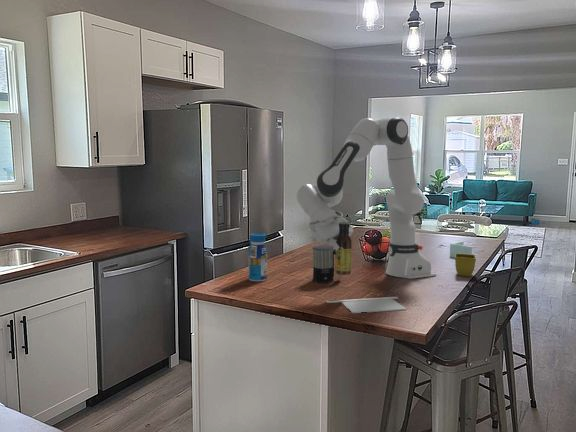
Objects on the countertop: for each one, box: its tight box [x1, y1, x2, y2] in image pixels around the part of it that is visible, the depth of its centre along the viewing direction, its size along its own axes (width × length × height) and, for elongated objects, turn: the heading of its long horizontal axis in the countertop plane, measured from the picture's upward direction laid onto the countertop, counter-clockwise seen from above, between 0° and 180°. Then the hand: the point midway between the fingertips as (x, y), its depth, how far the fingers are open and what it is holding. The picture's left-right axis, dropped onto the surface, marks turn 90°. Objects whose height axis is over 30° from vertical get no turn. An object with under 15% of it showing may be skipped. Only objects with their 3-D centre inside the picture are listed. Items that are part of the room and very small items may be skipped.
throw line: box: [326, 296, 399, 304], centre depth 186 cm, size 28×2×1 cm, turn 102°
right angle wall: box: [449, 240, 473, 259], centre depth 265 cm, size 12×12×8 cm
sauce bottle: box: [334, 222, 353, 276], centre depth 190 cm, size 7×6×20 cm
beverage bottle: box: [247, 232, 268, 282], centre depth 215 cm, size 8×8×20 cm
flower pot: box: [454, 254, 477, 277], centre depth 225 cm, size 9×9×9 cm
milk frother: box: [312, 244, 336, 284], centre depth 218 cm, size 14×16×15 cm
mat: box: [341, 299, 407, 314], centre depth 179 cm, size 20×12×1 cm, turn 102°
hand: (344, 247), depth 189 cm, fingers closed on sauce bottle, 6 cm apart
